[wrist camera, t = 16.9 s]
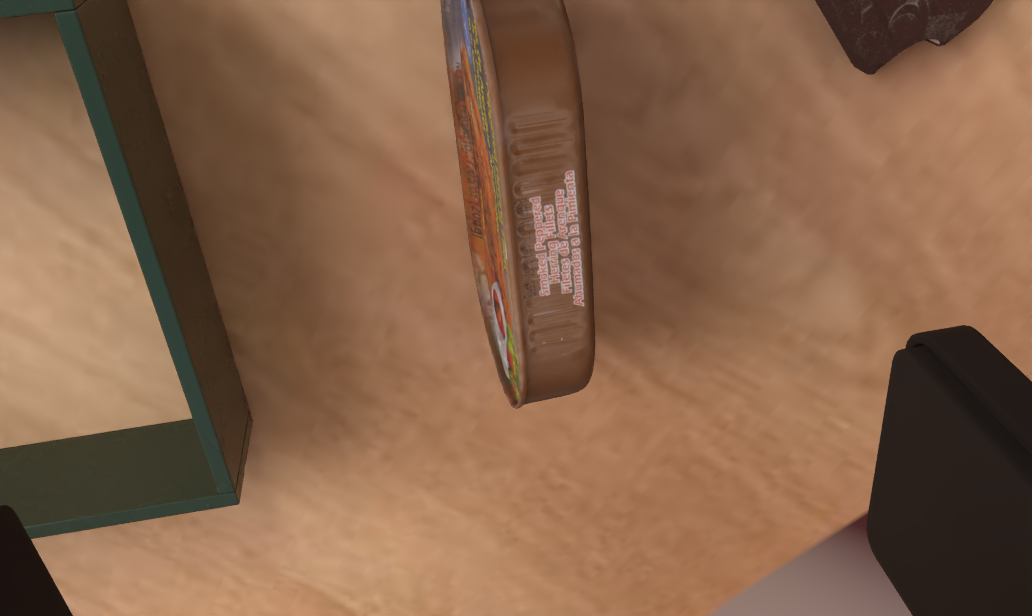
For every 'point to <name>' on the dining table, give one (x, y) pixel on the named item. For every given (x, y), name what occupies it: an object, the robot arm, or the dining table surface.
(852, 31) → the ice cream bar
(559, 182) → the tin
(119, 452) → the box
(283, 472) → the dining table surface
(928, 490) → the robot arm
